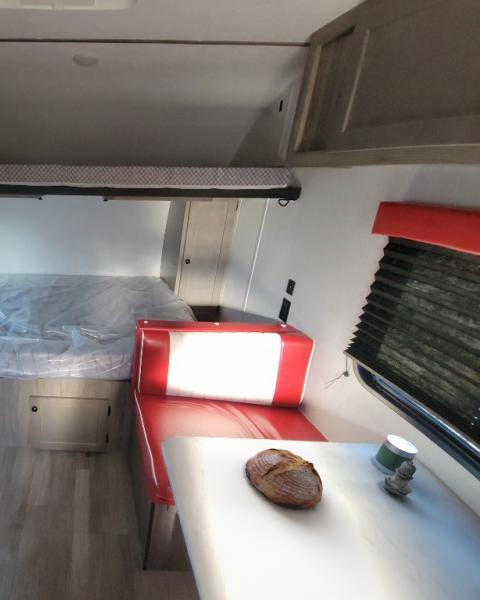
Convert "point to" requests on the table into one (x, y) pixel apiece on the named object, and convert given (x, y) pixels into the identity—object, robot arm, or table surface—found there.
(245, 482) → the table surface
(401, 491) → the grey stone statuette
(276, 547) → the table surface
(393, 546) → the table surface
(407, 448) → the tin can
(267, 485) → the bread
